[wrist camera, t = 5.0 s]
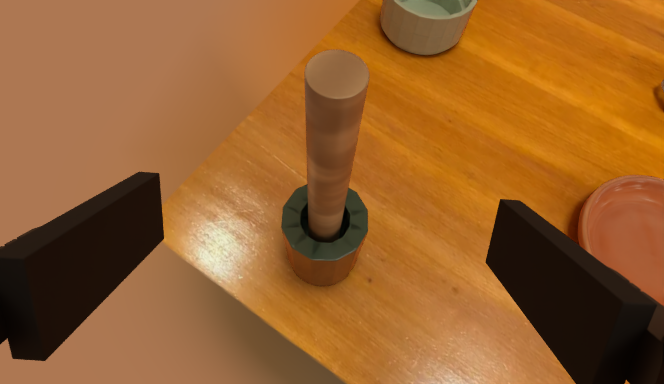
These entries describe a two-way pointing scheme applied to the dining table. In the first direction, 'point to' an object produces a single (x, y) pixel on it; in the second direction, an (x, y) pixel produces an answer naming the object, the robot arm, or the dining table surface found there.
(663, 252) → the saucer
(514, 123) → the dining table surface
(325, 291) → the dining table surface
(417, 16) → the bowl
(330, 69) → the stick
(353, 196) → the holder
